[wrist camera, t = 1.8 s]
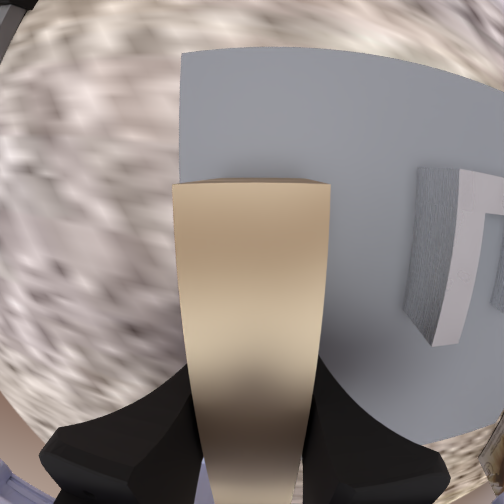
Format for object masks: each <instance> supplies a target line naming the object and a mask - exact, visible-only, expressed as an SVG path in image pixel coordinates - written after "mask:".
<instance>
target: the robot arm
mask: <svg viewBox="0 0 504 504" xmlns="http://www.w3.org/2000/svg"><path fill="white" fill-rule="evenodd" d="M39 458H40V461H41V464H42V465H43V466H44V468H45V470H46V471H47V472H48V473H49V475H50V476H51V477H52V478H53V479H54V481H55V482H56V483H57V484H58V485H59V487H60V488H61V491H60V493H59V494H58V496H57V498H56V499H55V498H53V497H51V496H50V495H48V494H46V493H44V492H42V491H41V490H39V489H37V488H35V487H34V486H32V485H30V484H29V483H27V482H25V481H24V480H22V479H21V478H19V477H18V476H16V475H15V474H13V473H12V471H11V470H10V469H9V467H8V466H7V465H6V464H5V463H4V462H3V461H2V460H1V459H0V504H215V503H214V499H213V495H212V491H211V487H210V482H209V478H208V474H207V469H206V465H205V460H204V456H203V451H202V446H201V441H200V436H199V431H198V426H197V420H196V415H195V409H194V403H193V397H192V391H191V385H190V378H189V372H188V365H187V364H186V365H185V366H184V367H183V368H182V369H180V370H179V371H178V372H177V373H176V374H175V375H174V376H172V377H171V378H170V379H169V380H167V381H166V382H165V383H164V384H162V385H161V386H160V387H158V388H157V389H156V390H154V391H153V392H151V393H150V394H148V395H146V396H145V397H143V398H141V399H140V400H138V401H136V402H134V403H132V404H130V405H128V406H126V407H124V408H122V409H120V410H118V411H115V412H113V413H111V414H108V415H105V416H103V417H100V418H97V419H94V420H90V421H87V422H83V423H79V424H74V425H69V426H65V427H59V428H58V429H57V430H56V431H55V433H54V434H53V435H52V437H51V438H50V439H49V441H48V442H47V443H46V445H45V446H44V447H43V449H42V450H41V452H40V453H39ZM302 463H303V504H433V503H434V502H435V500H436V499H437V498H438V497H439V496H440V495H441V494H442V493H443V492H444V491H445V489H446V488H447V486H448V485H449V483H450V479H451V477H450V475H449V472H448V470H447V467H446V465H445V462H444V461H443V459H442V457H441V455H440V454H439V452H437V451H434V450H431V449H429V448H426V447H424V446H421V445H419V444H417V443H414V442H412V441H410V440H408V439H406V438H405V437H403V436H401V435H399V434H397V433H395V432H394V431H392V430H391V429H389V428H388V427H386V426H385V425H383V424H382V423H380V422H379V421H377V420H376V419H375V418H373V417H372V416H371V415H369V414H368V413H367V412H366V411H365V410H364V409H363V408H361V407H360V406H359V405H358V404H357V403H356V402H355V401H354V400H353V399H352V398H351V397H350V395H349V394H348V393H347V392H346V391H345V390H344V389H343V388H342V386H341V385H340V384H339V383H338V381H337V380H336V379H335V378H334V376H333V375H332V374H331V372H330V371H329V370H328V368H327V367H326V365H325V364H324V362H323V361H322V359H321V358H320V356H319V354H318V359H317V367H316V374H315V381H314V388H313V394H312V400H311V407H310V413H309V418H308V424H307V430H306V435H305V440H304V446H303V451H302ZM491 504H504V492H503V493H501V494H500V495H499V496H498V497H497V498H496V499H495V500H494V501H493V502H492V503H491Z"/></svg>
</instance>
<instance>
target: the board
mask: <svg viewBox="0 0 504 504" xmlns="http://www.w3.org/2000/svg"><path fill="white" fill-rule="evenodd" d="M417 167H425V168H455V169H464V170H469V171H475V172H480V173H485V174H489V175H494V176H499V177H503V178H504V92H502V91H500V90H497V89H495V88H492V87H490V86H487V85H485V84H482V83H479V82H477V81H474V80H471V79H468V78H465V77H462V76H459V75H456V74H453V73H450V72H446V71H443V70H440V69H436V68H432V67H429V66H425V65H421V64H417V63H412V62H408V61H403V60H399V59H394V58H388V57H383V56H377V55H371V54H364V53H357V52H349V51H341V50H331V49H318V48H301V47H246V48H228V49H215V50H205V51H196V52H188V53H182V56H181V76H180V108H179V174H180V183H186V182H193V181H201V180H208V179H216V178H306V179H310V180H315V181H319V182H323V183H327V184H331V192H330V221H329V241H328V257H327V271H326V284H325V296H324V306H323V316H322V326H321V335H320V343H319V351H318V354H319V356H320V358H321V359H322V361H323V362H324V364H325V365H326V367H327V368H328V370H329V371H330V372H331V374H332V375H333V376H334V378H335V379H336V380H337V381H338V383H339V384H340V385H341V386H342V388H343V389H344V390H345V391H346V392H347V393H348V394H349V395H350V397H351V398H352V399H353V400H354V401H355V402H356V403H357V404H358V405H359V406H360V407H361V408H363V409H364V410H365V411H366V412H367V413H368V414H369V415H371V416H372V417H373V418H375V419H376V420H377V421H379V422H380V423H382V424H383V425H385V426H386V427H388V428H389V429H391V430H392V431H394V432H395V433H397V434H399V435H401V436H403V437H405V438H406V439H408V440H410V441H412V442H414V443H417V444H419V445H424V444H428V443H432V442H436V441H440V440H444V439H448V438H451V437H455V436H458V435H462V434H465V433H468V432H471V431H474V430H477V429H480V428H483V427H486V426H488V425H491V424H494V423H495V422H496V421H497V419H498V418H499V416H500V414H501V412H502V411H503V409H504V314H503V313H502V312H500V311H499V310H498V309H497V308H495V307H494V306H493V305H491V304H490V300H491V296H492V292H493V287H494V283H495V278H496V274H497V269H498V264H499V258H500V252H501V246H502V240H503V232H504V215H498V214H490V213H485V221H484V230H483V237H482V245H481V251H480V257H479V263H478V268H477V273H476V278H475V283H474V288H473V292H472V296H471V300H470V304H469V308H468V312H467V316H466V319H465V323H464V326H463V330H462V333H461V336H460V339H459V342H458V344H451V345H443V346H435V347H431V346H430V345H429V343H428V342H427V341H426V339H425V338H424V337H423V335H422V334H421V333H420V332H419V330H418V329H417V328H416V326H415V325H414V324H413V323H412V321H411V320H410V319H409V318H408V316H407V315H406V314H405V313H404V311H403V310H402V305H403V300H404V294H405V289H406V283H407V276H408V270H409V263H410V255H411V247H412V239H413V229H414V217H415V204H416V184H417ZM301 459H302V456H301Z"/></svg>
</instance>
